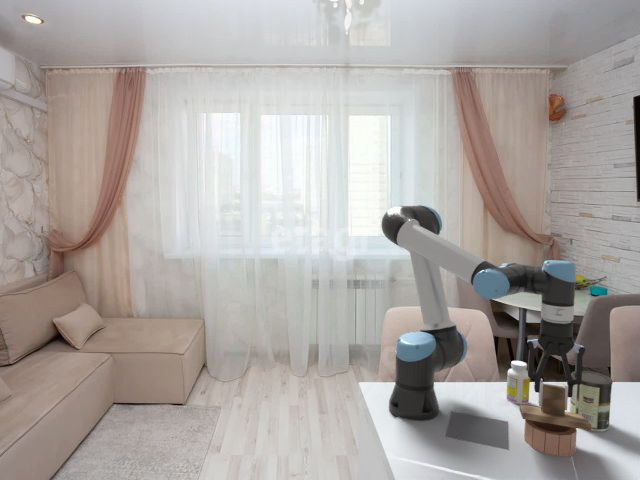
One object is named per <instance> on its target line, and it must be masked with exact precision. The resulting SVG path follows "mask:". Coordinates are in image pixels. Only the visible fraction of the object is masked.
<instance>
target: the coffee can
mask: <svg viewBox="0 0 640 480" xmlns="http://www.w3.org/2000/svg"><path fill="white" fill-rule="evenodd" d="M571 376H572V378H575V370H574V371H572V372H571ZM613 381H614V380H613V379H612V378H611V377H609V376H608V375H605V374H602V373H600V372H595V371H590V370H582V383H581V384H580V385H578V384H576V385H574V386H573V394H572V397H569V398H570V401H569V402H570V403H569V412H570V413H576V414H581V415H582V416H583V417H584V418H585V419H586V420H587V421H588V422H590V423H591V431H590V430H588V431H590V432H599V433H602V432H607V431H608V430H609V429H610V414H611V413H610V411H611V403H612V399H611V398H612V386H613Z"/></svg>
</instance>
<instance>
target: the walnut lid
mask: <svg viewBox="0 0 640 480" xmlns="http://www.w3.org/2000/svg"><path fill="white" fill-rule="evenodd" d="M519 413H520V416H521V418H522V419H523V420H525V419H527V420H532V421H538V422H544V423H550V424H556V425H561V426H567V427H573V428H576V429H579V430H586V431H589V430H590V432H592V431H591V423H590V422H588V421H587V420H586V419H585V418H584V417H583V416H582V415H581V414H576V413H570V411H569V412H568V411H566V410H565V388H564V387H563V386H561V385H556V384H555V385H554V384H548V383H543V399H542V406H539V407H538V406H532V405H528V404H519Z"/></svg>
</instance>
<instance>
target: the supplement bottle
mask: <svg viewBox="0 0 640 480" xmlns="http://www.w3.org/2000/svg"><path fill="white" fill-rule="evenodd" d="M510 366H511V368H509V369H508V370H507V374H506V375H507V380H506V400H507V402H510V403H512V404H516V405H517V404H518V405H520V404H521V405H528V404H529V401H530V381H531V378H529V377H528V363H527V362H524V361H523V360H522V361H521V360H512V361H511V363H510Z"/></svg>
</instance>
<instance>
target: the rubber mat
mask: <svg viewBox="0 0 640 480" xmlns="http://www.w3.org/2000/svg"><path fill="white" fill-rule="evenodd" d="M444 437H445V438H449V439H454V440H460V441H465V442H469V443H474V444H480V445H485V446H489V447H492V448H499V449H504V450H508V451H509V450H510V447H509V446H510V443H509V442H510V441H509V421H507V420H502V419H497V418H492V417H487V416H480V415H476V414H470V413H463V412H458V411H453V410H451V411H450V417H449V419H448V424H447V427H446V433H445V436H444Z"/></svg>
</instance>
